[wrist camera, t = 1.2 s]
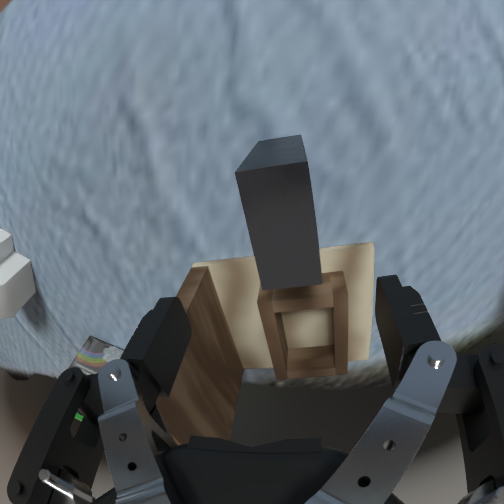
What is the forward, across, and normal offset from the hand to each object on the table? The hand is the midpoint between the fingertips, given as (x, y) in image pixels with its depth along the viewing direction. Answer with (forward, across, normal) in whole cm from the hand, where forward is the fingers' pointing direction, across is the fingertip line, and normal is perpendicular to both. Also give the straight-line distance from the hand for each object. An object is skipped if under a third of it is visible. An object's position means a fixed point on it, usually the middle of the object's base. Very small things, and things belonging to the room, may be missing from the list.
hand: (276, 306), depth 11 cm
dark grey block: (+19, 0, 0) cm, 19 cm away
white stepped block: (+19, +48, +3) cm, 52 cm away
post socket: (+19, +3, +17) cm, 26 cm away
